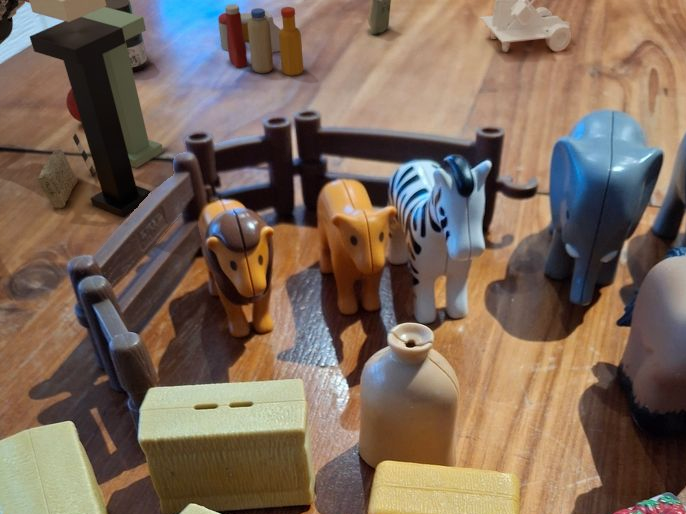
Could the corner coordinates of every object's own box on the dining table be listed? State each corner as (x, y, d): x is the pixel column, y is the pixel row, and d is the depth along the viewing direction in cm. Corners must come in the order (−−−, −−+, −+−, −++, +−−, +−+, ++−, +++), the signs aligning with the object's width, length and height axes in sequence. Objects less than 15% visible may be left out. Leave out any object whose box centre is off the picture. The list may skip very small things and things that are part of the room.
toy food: (308, 74, 153) (305, 10, 143) (252, 86, 149) (245, 21, 140) (261, 30, 168) (256, -30, 159) (209, 41, 165) (200, -21, 155)
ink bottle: (107, 77, 153) (90, 13, 143) (102, 61, 158) (86, -1, 149) (153, 70, 155) (140, 7, 145) (146, 55, 160) (133, -7, 151)
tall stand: (161, 198, 122) (122, 27, 102) (123, 223, 117) (75, 49, 97) (122, 183, 125) (77, 15, 105) (84, 207, 120) (29, 36, 100)
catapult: (499, 60, 156) (511, -26, 144) (477, 35, 165) (487, -48, 153) (577, 51, 159) (595, -34, 146) (551, 27, 168) (566, -55, 155)
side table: (171, 151, 132) (143, 16, 115) (136, 172, 127) (102, 35, 110) (134, 138, 135) (102, 6, 118) (99, 159, 131) (61, 24, 114)
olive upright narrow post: (390, 37, 165) (392, -3, 159) (367, 37, 165) (368, -3, 159) (390, 27, 169) (391, -12, 162) (367, 27, 169) (368, -12, 162)
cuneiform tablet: (95, 172, 127) (77, 209, 120) (72, 177, 128) (53, 213, 120) (75, 133, 122) (56, 168, 114) (51, 138, 123) (30, 174, 115)
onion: (88, 134, 137) (75, 90, 130) (66, 126, 139) (53, 83, 132) (110, 122, 140) (98, 78, 134) (89, 114, 142) (76, 71, 136)
